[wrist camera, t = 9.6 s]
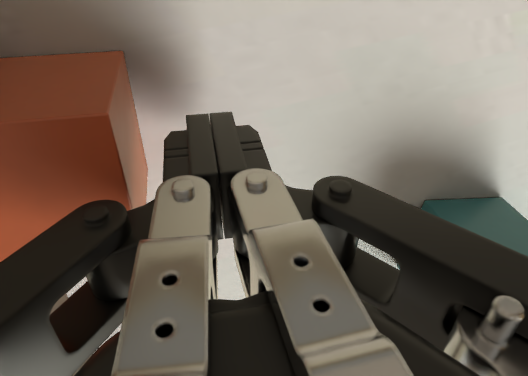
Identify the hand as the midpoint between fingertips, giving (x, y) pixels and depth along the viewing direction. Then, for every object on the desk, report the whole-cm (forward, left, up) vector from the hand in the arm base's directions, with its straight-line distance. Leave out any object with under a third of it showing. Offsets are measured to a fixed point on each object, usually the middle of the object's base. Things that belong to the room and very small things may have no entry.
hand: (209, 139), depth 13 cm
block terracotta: (0, -5, -1) cm, 5 cm away
